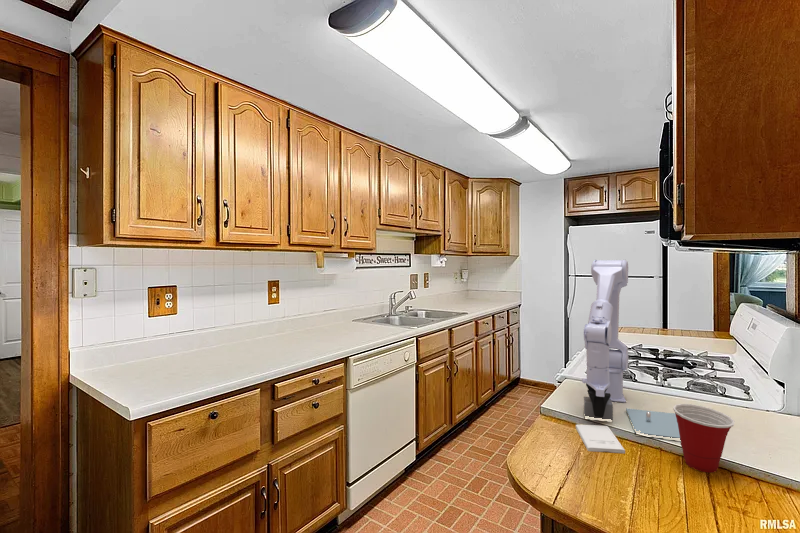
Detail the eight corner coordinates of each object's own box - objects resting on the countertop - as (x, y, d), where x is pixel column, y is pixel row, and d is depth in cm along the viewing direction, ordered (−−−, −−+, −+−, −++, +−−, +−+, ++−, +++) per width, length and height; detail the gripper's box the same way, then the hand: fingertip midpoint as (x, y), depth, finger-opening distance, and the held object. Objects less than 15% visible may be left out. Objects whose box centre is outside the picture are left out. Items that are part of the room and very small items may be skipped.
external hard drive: (608, 431, 106) (625, 455, 94) (575, 430, 108) (587, 453, 96) (608, 425, 106) (625, 449, 94) (575, 424, 108) (587, 446, 96)
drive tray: (626, 411, 117) (626, 399, 117) (700, 419, 110) (700, 407, 110) (635, 436, 102) (636, 422, 102) (722, 447, 96) (722, 432, 95)
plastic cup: (738, 486, 81) (739, 427, 80) (673, 471, 86) (673, 416, 86) (730, 461, 90) (730, 408, 89) (671, 449, 95) (672, 399, 95)
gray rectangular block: (583, 413, 117) (583, 396, 117) (610, 416, 114) (610, 399, 114) (584, 419, 113) (584, 402, 112) (612, 423, 110) (612, 405, 110)
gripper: (580, 357, 121) (581, 401, 122) (583, 372, 108) (583, 421, 108) (606, 359, 118) (607, 404, 119) (613, 374, 105) (613, 425, 106)
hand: (597, 412), depth 113 cm, fingers closed on gray rectangular block, 4 cm apart
